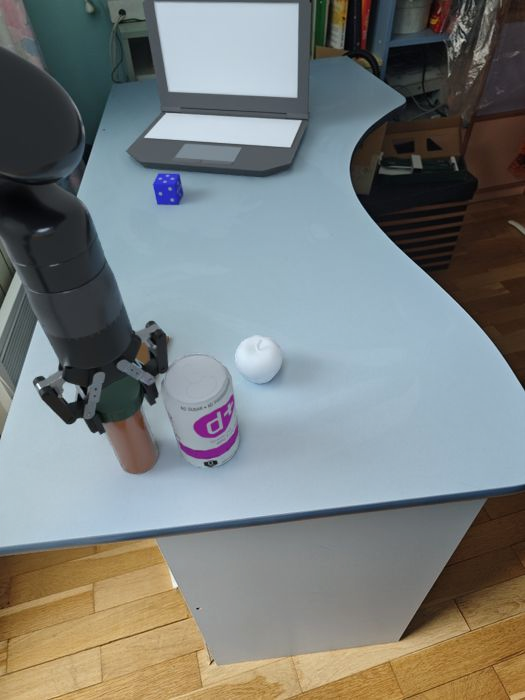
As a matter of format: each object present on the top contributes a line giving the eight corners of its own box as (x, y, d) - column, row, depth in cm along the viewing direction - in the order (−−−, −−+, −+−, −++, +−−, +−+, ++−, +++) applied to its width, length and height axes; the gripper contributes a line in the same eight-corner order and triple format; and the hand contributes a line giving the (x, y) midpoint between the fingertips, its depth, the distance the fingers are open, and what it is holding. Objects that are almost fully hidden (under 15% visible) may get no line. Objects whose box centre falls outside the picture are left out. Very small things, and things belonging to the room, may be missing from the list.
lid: (136, 424, 54) (133, 414, 53) (84, 421, 55) (79, 411, 53) (149, 382, 58) (146, 371, 57) (101, 380, 59) (96, 370, 57)
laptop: (119, 169, 122) (78, 10, 98) (164, 119, 143) (139, -22, 119) (287, 182, 115) (287, 13, 90) (308, 127, 135) (313, -22, 111)
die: (183, 193, 113) (179, 173, 109) (178, 204, 109) (174, 184, 106) (162, 193, 113) (158, 173, 110) (157, 204, 110) (152, 184, 106)
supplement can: (251, 448, 65) (245, 382, 54) (198, 482, 62) (180, 420, 51) (219, 407, 70) (207, 338, 58) (169, 437, 67) (145, 371, 55)
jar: (156, 473, 63) (131, 412, 53) (116, 475, 63) (84, 413, 53) (160, 439, 67) (139, 376, 57) (123, 440, 67) (95, 377, 57)
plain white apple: (261, 399, 71) (258, 363, 65) (227, 375, 74) (222, 338, 69) (292, 372, 74) (293, 335, 68) (259, 350, 78) (256, 313, 72)
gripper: (15, 368, 39) (80, 471, 52) (169, 294, 45) (194, 403, 57) (-12, 319, 44) (55, 425, 56) (132, 257, 49) (163, 365, 62)
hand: (125, 413), depth 57 cm, fingers closed on lid, 6 cm apart
